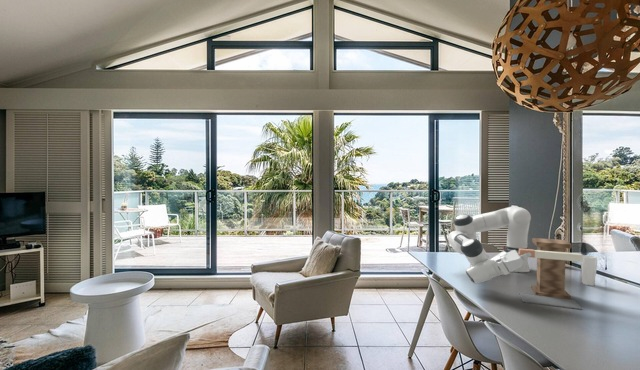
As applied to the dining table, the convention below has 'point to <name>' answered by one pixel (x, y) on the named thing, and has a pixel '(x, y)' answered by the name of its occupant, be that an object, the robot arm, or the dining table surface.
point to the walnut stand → (551, 270)
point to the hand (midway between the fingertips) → (529, 252)
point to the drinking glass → (589, 270)
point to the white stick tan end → (552, 255)
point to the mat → (550, 301)
